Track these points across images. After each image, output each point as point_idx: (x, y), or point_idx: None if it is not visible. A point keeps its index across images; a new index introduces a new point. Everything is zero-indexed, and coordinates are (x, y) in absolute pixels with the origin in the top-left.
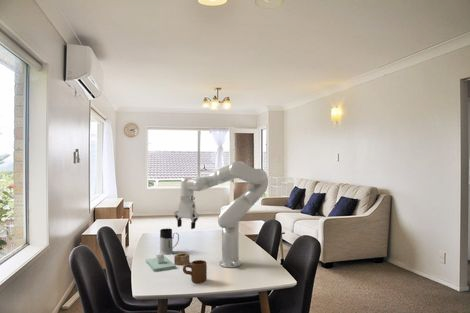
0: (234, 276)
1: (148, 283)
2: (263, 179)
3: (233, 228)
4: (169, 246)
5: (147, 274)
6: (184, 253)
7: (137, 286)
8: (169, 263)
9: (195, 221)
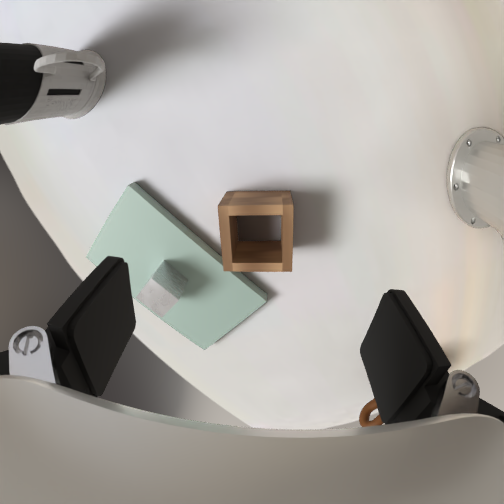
0: (487, 301)
1: (257, 407)
2: None
3: None
4: (73, 89)
5: (204, 364)
6: (255, 205)
7: (243, 419)
8: (218, 281)
9: (456, 390)
